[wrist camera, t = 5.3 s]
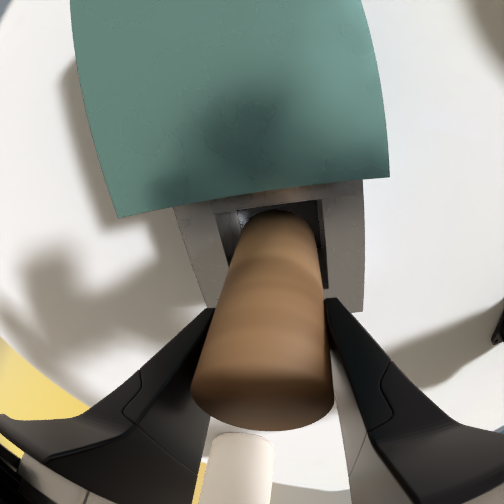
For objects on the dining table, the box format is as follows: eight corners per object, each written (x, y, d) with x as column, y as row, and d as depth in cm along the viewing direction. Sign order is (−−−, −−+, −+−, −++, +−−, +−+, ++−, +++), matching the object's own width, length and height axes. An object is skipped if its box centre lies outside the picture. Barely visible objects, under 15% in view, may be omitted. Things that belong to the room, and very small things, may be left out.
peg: (318, 272, 13) (332, 427, 7) (247, 279, 14) (214, 429, 7) (311, 204, 12) (336, 355, 5) (232, 215, 13) (168, 360, 6)
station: (357, 268, 17) (379, 337, 12) (205, 283, 19) (178, 350, 14) (308, -41, 8) (316, -100, 3) (133, 2, 10) (69, -23, 5)
